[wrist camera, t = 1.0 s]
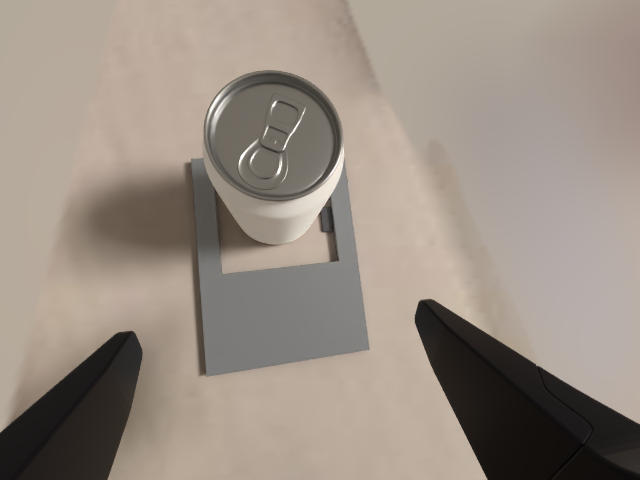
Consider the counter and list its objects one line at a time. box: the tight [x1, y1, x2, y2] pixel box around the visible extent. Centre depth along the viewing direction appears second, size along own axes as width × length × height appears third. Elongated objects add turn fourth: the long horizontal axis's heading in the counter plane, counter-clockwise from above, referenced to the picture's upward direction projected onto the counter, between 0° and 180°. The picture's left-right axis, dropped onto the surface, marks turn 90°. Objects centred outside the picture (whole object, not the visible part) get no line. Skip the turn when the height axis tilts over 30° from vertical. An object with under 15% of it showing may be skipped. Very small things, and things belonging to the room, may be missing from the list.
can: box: [203, 70, 344, 245], centre depth 18 cm, size 6×6×12 cm
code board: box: [191, 158, 370, 377], centre depth 23 cm, size 16×12×1 cm
